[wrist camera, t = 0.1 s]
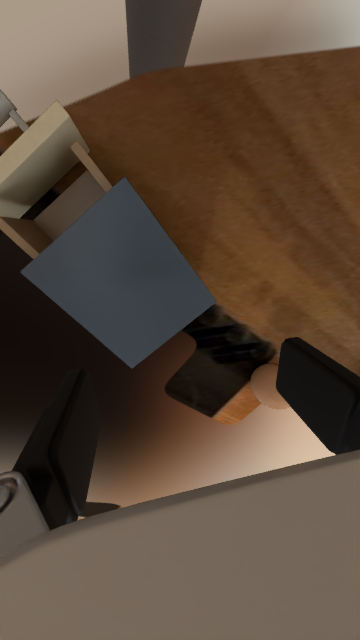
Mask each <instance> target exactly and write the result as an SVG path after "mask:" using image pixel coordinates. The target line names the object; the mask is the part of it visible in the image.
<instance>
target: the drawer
mask: <svg viewBox="0 0 360 640" xmlns="http://www.w3.org/2000/svg"><path fill="white" fill-rule="evenodd" d="M16 110H17V109H16V107H15V106H14V104H13V103H11V101H10V100H9V99H8V98H7V96H6V95H5V94H4V93H3V92H2V91H1V90H0V127H1V126H2V125H3V124H4V123H5V122H6V121H7V120H8V119H9V118H10V117H11V118H12V119H13V120H14V121H15V122H16V124H17V125H18V126H19V127H20V128H21V129H22V131H23V132H24V133H23V134H22V135H21V136H20V137H19V138H18V139H17V140H16V141H15V142H14V143H13V144H12V145H11V146H10V147H9V148H8V149H7V150H6V151H5V152H4V153H3V154H2V155H1V156H0V229H1V230H2V231H3V232H4V233H5V234H6V235H8V236H9V237H10V238H11V239H12V240H13V241H14V242H15V243H16V244H17V245H18V246H20V247H21V248H22V249H23V250H24V251H25V252H26V253H27V254H28V255H29V256H31V257H32V258H33V259H35V258H36V257H37V256H38V255H39V254H40V253H41V252H42V251H43V250H44V249H46V248H47V247H48V246H49V245H50V244H51V243H52V242H53V241H54V240H55V239H56V238H58V237H59V236H60V235H61V234H62V233H63V232H64V231H65V230H66V229H67V228H68V227H70V226H71V225H72V224H73V223H74V222H75V221H76V220H77V219H78V218H79V217H80V216H82V215H83V214H84V213H85V212H86V211H87V210H88V209H89V208H90V207H91V206H92V205H94V204H95V203H96V202H97V201H98V200H99V199H100V198H101V197H102V196H103V195H104V194H106V193H107V192H108V191H109V190H110V189H111V188H112V187H113V186H112V185H111V184H110V182H109V181H108V180H107V179H106V177H105V176H104V175H103V173H102V172H101V171H100V169H99V168H98V167H97V166H96V164H95V163H94V162H93V160H92V159H91V158H90V157H89V155H88V154H87V153H89V152H90V150H89V148H88V146H87V145H86V143H85V141H84V140H83V138H82V136H81V135H80V133H79V131H78V129H77V128H76V126H75V124H74V123H73V121H72V119H71V118H70V116H69V114H68V113H67V112H66V110H65V109H64V108H63V106H62V105H61V104H60V102H59V101H58V100H56V101H55V102H54V103H53V104H52V105H51V106H50V107H49V108H48V109H47V110H46V111H45V112H44V113H43V114H42V115H41V116H40V117H39V118H38V119H37V120H36V121H35V122H34V123H33V124H32V125H31V126H30V127H29V126H28V125H27V124H26V123H25V122H24V120H23V119H22V118H21V117H20V116H19V115H18V114H17V112H16ZM79 161H81V162H82V163H83V164H84V166H85V167H86V168H87V170H86V171H85V172H84V173H83V174H82V175H81V176H80V177H79V178H78V179H77V180H76V181H75V182H73V183H72V184H71V185H70V186H69V187H68V188H67V189H66V190H65V191H64V192H63V193H62V194H61V195H60V196H59V197H58V198H56V199H55V200H54V201H53V202H52V203H51V204H50V205H49V206H48V207H47V208H46V209H45V210H44V211H43V212H42V213H41V214H40V215H38V216H37V217H36V218H35V219H34V220H26V219H19V218H20V217H21V216H22V215H23V214H25V213H26V212H27V211H28V210H29V209H30V208H31V207H32V206H33V205H34V204H35V203H36V202H37V201H38V200H39V199H40V198H41V197H42V196H43V195H44V194H46V193H47V192H48V191H49V190H50V189H51V188H52V187H53V186H54V185H55V184H56V183H57V182H58V181H59V180H60V179H61V178H62V177H63V176H64V175H65V174H66V173H68V172H69V171H70V170H71V169H72V168H73V167H74V166H75V165H76V164H77V163H78V162H79Z"/></svg>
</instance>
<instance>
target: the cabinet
mask: <svg viewBox="0 0 360 640" xmlns="http://www.w3.org/2000/svg"><path fill="white" fill-rule="evenodd" d="M21 273H22V274H23V275H24V276H25V277H27V278H28V279H29V280H30V281H31V282H32V283H33V284H35V285H36V286H37V287H38V288H39V289H41V290H42V291H43V292H44V293H45V294H46V295H47V296H48V297H50V298H51V299H52V300H53V301H54V302H55V303H57V304H58V305H59V306H60V307H61V308H62V309H64V310H65V311H66V312H67V313H68V314H69V315H70V316H72V317H73V318H74V319H75V320H76V321H77V322H79V323H80V324H81V325H82V326H83V327H84V328H86V329H87V330H88V331H89V332H90V333H91V334H93V335H94V336H95V337H96V338H97V339H98V340H99V341H101V342H102V343H103V344H104V345H105V346H106V347H108V348H109V349H110V350H111V351H112V352H114V353H115V354H116V355H117V356H118V357H119V358H120V359H122V360H123V361H124V362H125V363H126V364H127V365H129V366H130V367H131V368H133V367H134V366H136V365H137V364H138V363H139V362H141V361H142V360H143V359H144V358H146V357H147V356H148V355H150V354H151V353H152V352H153V351H155V350H156V349H157V348H158V347H160V346H161V345H162V344H163V343H164V342H166V341H167V340H169V339H170V338H171V337H172V336H174V335H175V334H176V333H177V332H179V331H180V330H181V329H183V328H184V327H185V326H186V325H188V324H189V323H190V322H191V321H193V320H194V319H195V318H196V317H198V316H199V315H200V314H202V313H203V312H204V311H205V310H207V309H208V308H209V307H210V306H212V305H213V304H214V303H215V302H217V301H216V300H215V298H214V297H213V296H212V294H211V293H210V292H209V290H208V289H207V287H206V286H205V285H204V283H203V282H202V281H201V279H200V278H199V277H198V275H197V274H196V272H195V271H194V270H193V268H192V267H191V266H190V264H189V263H188V262H187V260H186V259H185V257H184V256H183V255H182V253H181V252H180V251H179V249H178V248H177V247H176V245H175V244H174V242H173V241H172V240H171V238H170V237H169V236H168V234H167V233H166V232H165V230H164V229H163V227H162V226H161V225H160V223H159V222H158V221H157V219H156V218H155V217H154V215H153V214H152V212H151V211H150V210H149V208H148V207H147V206H146V204H145V203H144V202H143V200H142V199H141V197H140V196H139V195H138V193H137V192H136V191H135V189H134V188H133V187H132V185H131V184H130V182H129V181H128V180H127V178H126V177H125V176H124V177H123V178H122V179H121V180H120V181H119V182H118V183H116V184H115V185H114V186H113V187H112V188H111V189H110V190H109V191H108V192H107V193H106V194H104V195H103V196H102V197H101V198H100V199H99V200H98V201H97V202H96V203H95V204H94V205H92V206H91V207H90V208H89V209H88V210H87V211H86V212H85V213H84V214H83V215H82V216H80V217H79V218H78V219H77V220H76V221H75V222H74V223H73V224H72V225H71V226H70V227H68V228H67V229H66V230H65V231H64V232H63V233H62V234H61V235H60V236H59V237H58V238H56V239H55V240H54V241H53V242H52V243H51V244H50V245H49V246H48V247H47V248H46V249H44V250H43V251H42V252H41V253H40V254H39V255H38V256H37V257H36V258H35V259H34V260H33V261H31V262H30V263H29V264H28V265H27V266H26V267H25V268H24V269H23V270H22V271H21Z"/></svg>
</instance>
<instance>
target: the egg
mask: <svg viewBox="0 0 360 640" xmlns="http://www.w3.org/2000/svg"><path fill="white" fill-rule="evenodd" d="M277 372H278V365H275V364H264V365H262V366H260V367H258V368H257V369H256V370H255V371H254V372H253V374H252V376H251V381H250V385H251V389H252V392H253V394H254V395H255V397H256V398H257V399H258V400H259V401H260V402H261V403H262V404H264V405H266V406H268V407H270V408H272V409H277V410H282V409H287V408H289V407H291V406H290V405H289V404H288V403H287V402H286V401H285V400H284V398H283V397H282V396H281V395H280V394H279V393H278V391H277V389H276V378H277Z"/></svg>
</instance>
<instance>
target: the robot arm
mask: <svg viewBox="0 0 360 640" xmlns="http://www.w3.org/2000/svg"><path fill="white" fill-rule="evenodd" d="M276 389H277V391H278V393H279V394H280V395H281V396H282V397H283V398H284V400H285V401H286V402H287V403H288V404H289V405H290V406H291V408H292V409H293V410H294V411H295V412H296V413H297V414H298V416H300V418H301V419H302V420H303V421H304V422H305V424H307V426H308V427H309V428H310V429H311V430H312V432H313V433H314V434H315V435H316V436H317V437H318V438H319V440H320V441H321V442H322V443H323V444H324V445H325V446H326V448H327V449H328V450H329V451H331V452H333V453H335V454H336V455H335V456H330V457H326V458H322V459H318V460H314V461H309V462H305V463H301V464H297V465H292V466H288V467H284V468H280V469H277V470H272V471H268V472H264V473H259V474H255V475H251V476H247V477H243V478H239V479H235V480H231V481H226V482H222V483H218V484H214V485H211V486H207V487H202V488H198V489H194V490H190V491H186V492H182V493H178V494H174V495H170V496H166V497H162V498H158V499H155V500H150V501H146V502H142V503H138V504H135V505H131V506H128V507H124V508H120V509H116V510H112V511H109V512H105V513H101V514H98V515H94V516H91V517H87V518H84V519H81V520H78V521H77V519H78V514H82V513H83V511H84V508H85V504H86V498H87V493H88V488H89V483H90V478H91V473H92V468H93V463H94V458H95V453H96V447H97V442H98V437H99V432H100V427H101V416H100V412H99V408H98V405H97V401H96V398H95V394H94V390H93V387H92V383H91V379H90V376H89V373H88V372H84V370H83V369H78V370H71V371H68V372H67V374H66V376H65V378H64V380H63V381H62V384H61V385H60V387H59V389H58V391H57V393H56V395H55V397H54V399H53V401H52V403H51V405H48V406H47V407H46V408H45V410H44V411H43V413H42V415H41V417H40V419H39V421H38V423H37V425H36V426H35V428H34V430H33V432H32V434H31V436H30V437H29V439H28V441H27V443H26V445H25V447H24V449H23V451H22V452H21V454H20V456H19V458H18V460H17V462H16V464H15V466H14V468H13V469H12V471H10V472H4V473H2V474H0V640H360V377H359V376H357V375H356V374H354V373H353V372H351V371H350V370H348V369H347V368H345V367H344V366H342V365H341V364H339V363H337V362H336V361H334V360H333V359H331V358H330V357H328V356H327V355H325V354H324V353H322V352H321V351H319V350H317V349H316V348H314V347H313V346H311V345H310V344H308V343H307V342H305V341H304V340H302V339H301V338H299V337H294V338H288V339H285V341H284V342H283V343H282V345H281V351H280V358H279V365H278V372H277V378H276Z"/></svg>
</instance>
